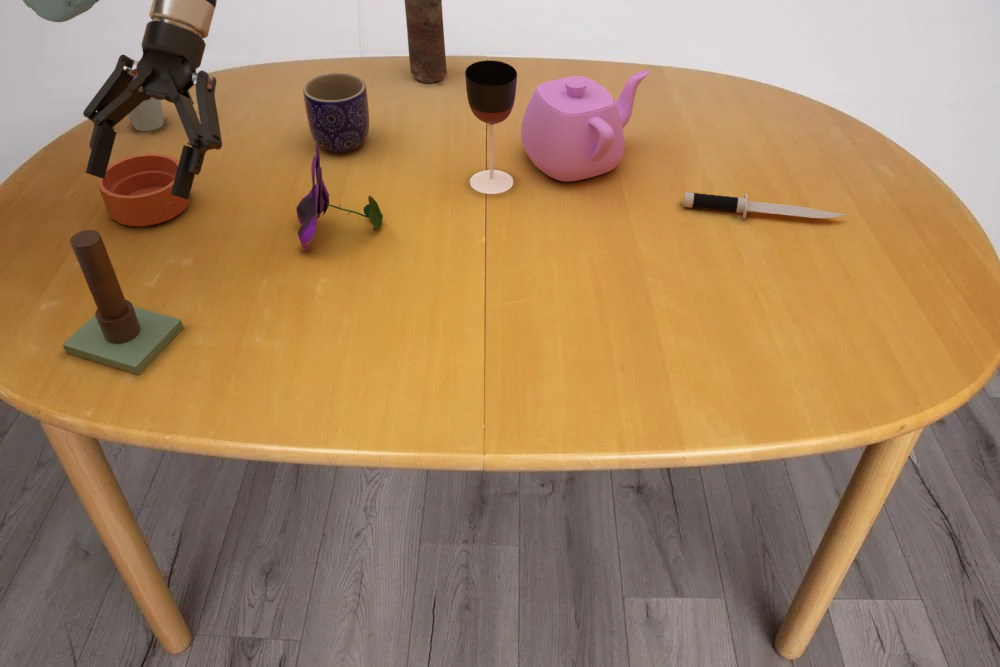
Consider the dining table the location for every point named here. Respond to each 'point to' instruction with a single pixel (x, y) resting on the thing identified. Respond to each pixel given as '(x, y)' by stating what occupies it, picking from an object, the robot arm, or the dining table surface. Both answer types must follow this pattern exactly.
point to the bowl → (142, 190)
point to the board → (132, 353)
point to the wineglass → (491, 113)
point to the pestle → (105, 288)
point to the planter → (337, 111)
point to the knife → (750, 206)
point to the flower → (325, 206)
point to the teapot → (577, 126)
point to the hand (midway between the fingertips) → (136, 186)
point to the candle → (426, 39)
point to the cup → (147, 115)
